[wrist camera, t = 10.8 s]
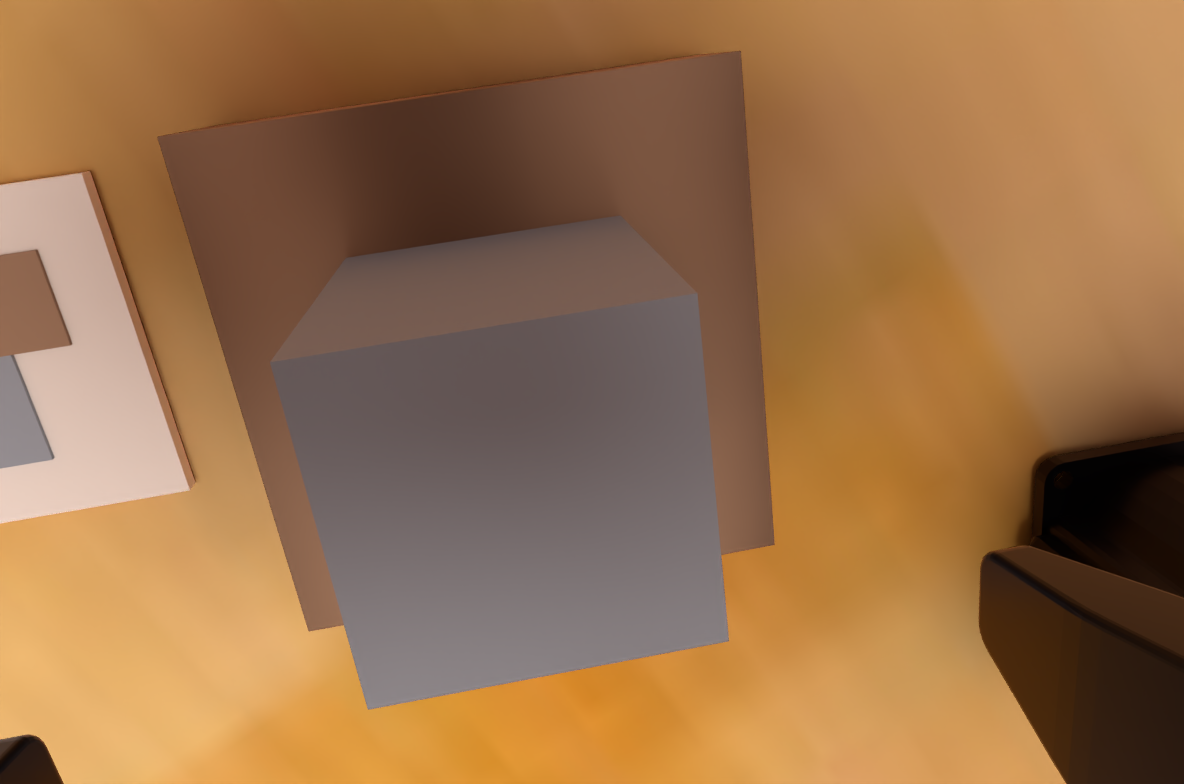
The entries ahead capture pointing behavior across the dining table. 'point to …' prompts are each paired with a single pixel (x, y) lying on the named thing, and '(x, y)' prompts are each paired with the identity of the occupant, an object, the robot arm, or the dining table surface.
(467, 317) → the slate block
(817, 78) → the dining table surface
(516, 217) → the walnut base block
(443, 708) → the dining table surface
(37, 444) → the plaque
